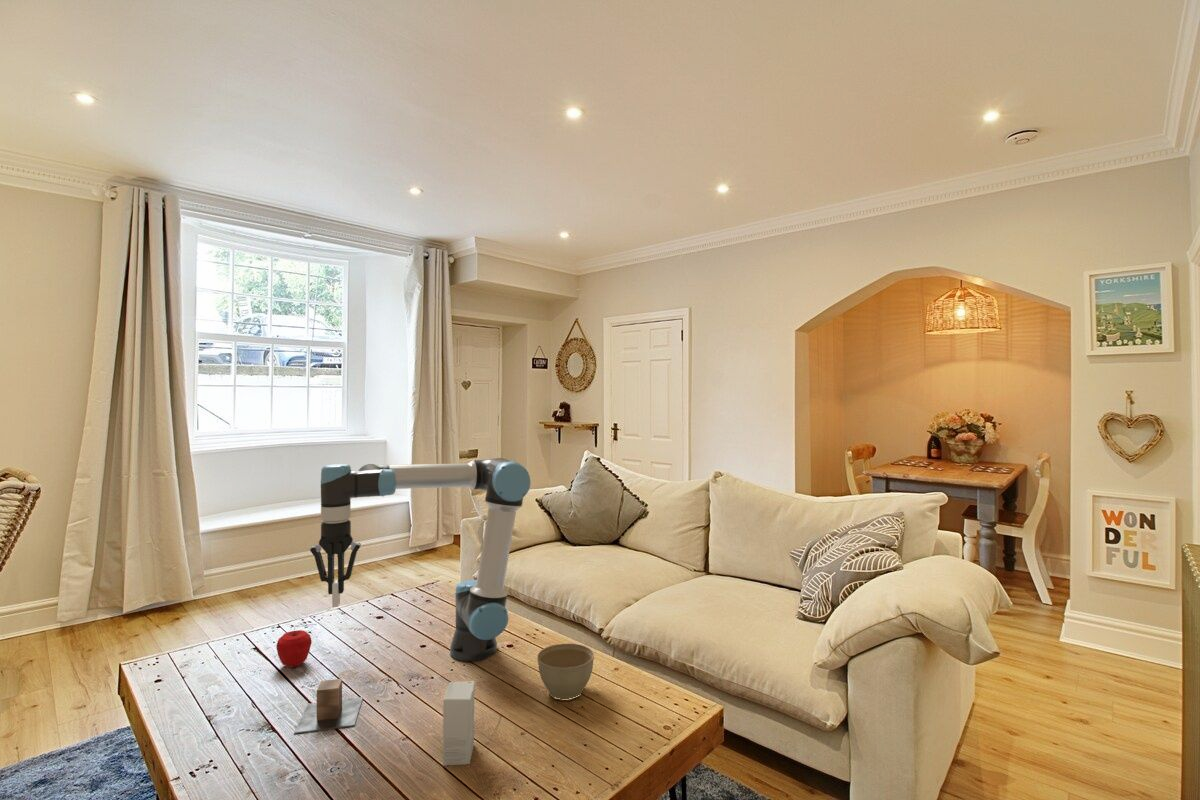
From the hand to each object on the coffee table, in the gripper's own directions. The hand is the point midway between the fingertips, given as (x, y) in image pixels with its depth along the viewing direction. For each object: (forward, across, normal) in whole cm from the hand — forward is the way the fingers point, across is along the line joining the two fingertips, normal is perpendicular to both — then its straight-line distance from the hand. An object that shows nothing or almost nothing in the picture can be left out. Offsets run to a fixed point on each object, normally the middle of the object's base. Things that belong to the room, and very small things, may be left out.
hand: (336, 605), depth 160 cm
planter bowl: (+27, -63, +12) cm, 69 cm away
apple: (+27, +17, -26) cm, 41 cm away
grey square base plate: (+26, 0, +8) cm, 28 cm away
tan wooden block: (+26, 0, +8) cm, 27 cm away
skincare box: (+27, -33, +34) cm, 54 cm away
